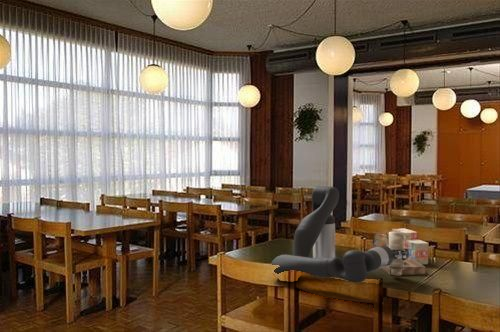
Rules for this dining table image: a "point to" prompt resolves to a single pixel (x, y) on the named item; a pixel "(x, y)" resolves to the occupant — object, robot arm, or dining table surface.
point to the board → (409, 268)
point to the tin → (380, 240)
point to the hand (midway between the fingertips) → (399, 249)
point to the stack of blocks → (414, 246)
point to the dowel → (396, 243)
